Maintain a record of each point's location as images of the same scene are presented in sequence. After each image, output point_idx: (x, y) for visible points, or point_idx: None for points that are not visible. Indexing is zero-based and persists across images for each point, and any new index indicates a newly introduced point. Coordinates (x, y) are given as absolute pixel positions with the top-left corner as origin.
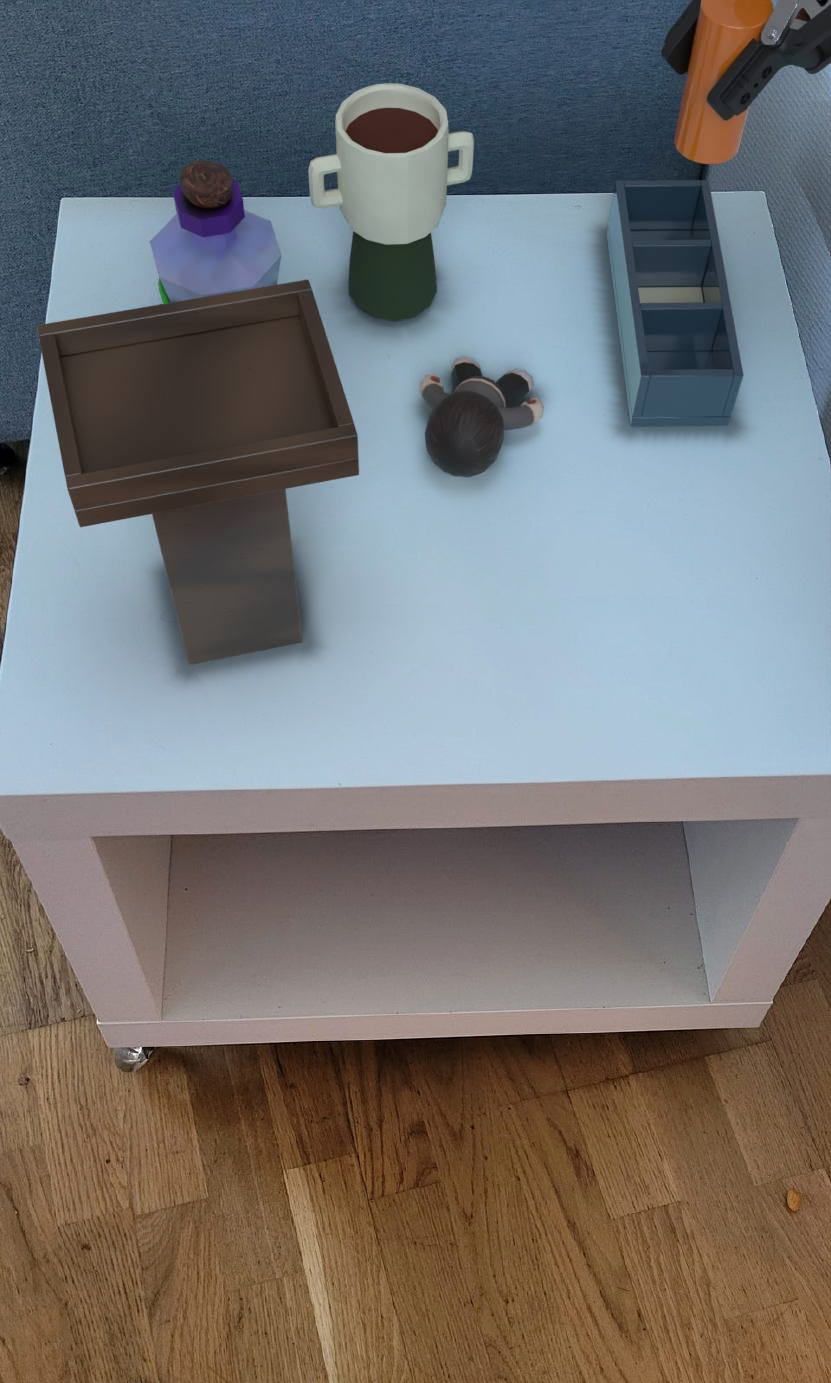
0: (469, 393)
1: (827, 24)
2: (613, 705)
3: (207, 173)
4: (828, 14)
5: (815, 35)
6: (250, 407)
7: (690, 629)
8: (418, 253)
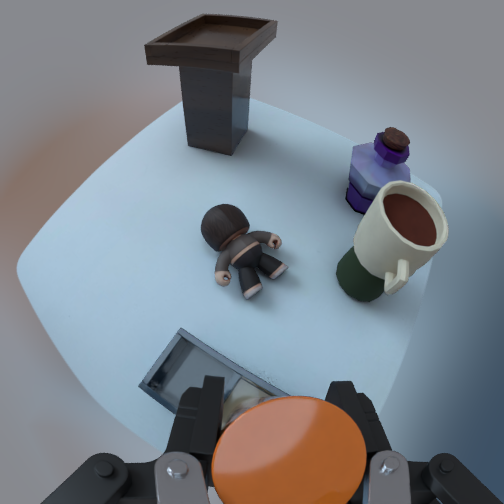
0: (234, 224)
1: (62, 498)
2: (77, 218)
3: (399, 136)
4: None
5: (76, 481)
6: (200, 43)
7: (73, 268)
8: (356, 261)
